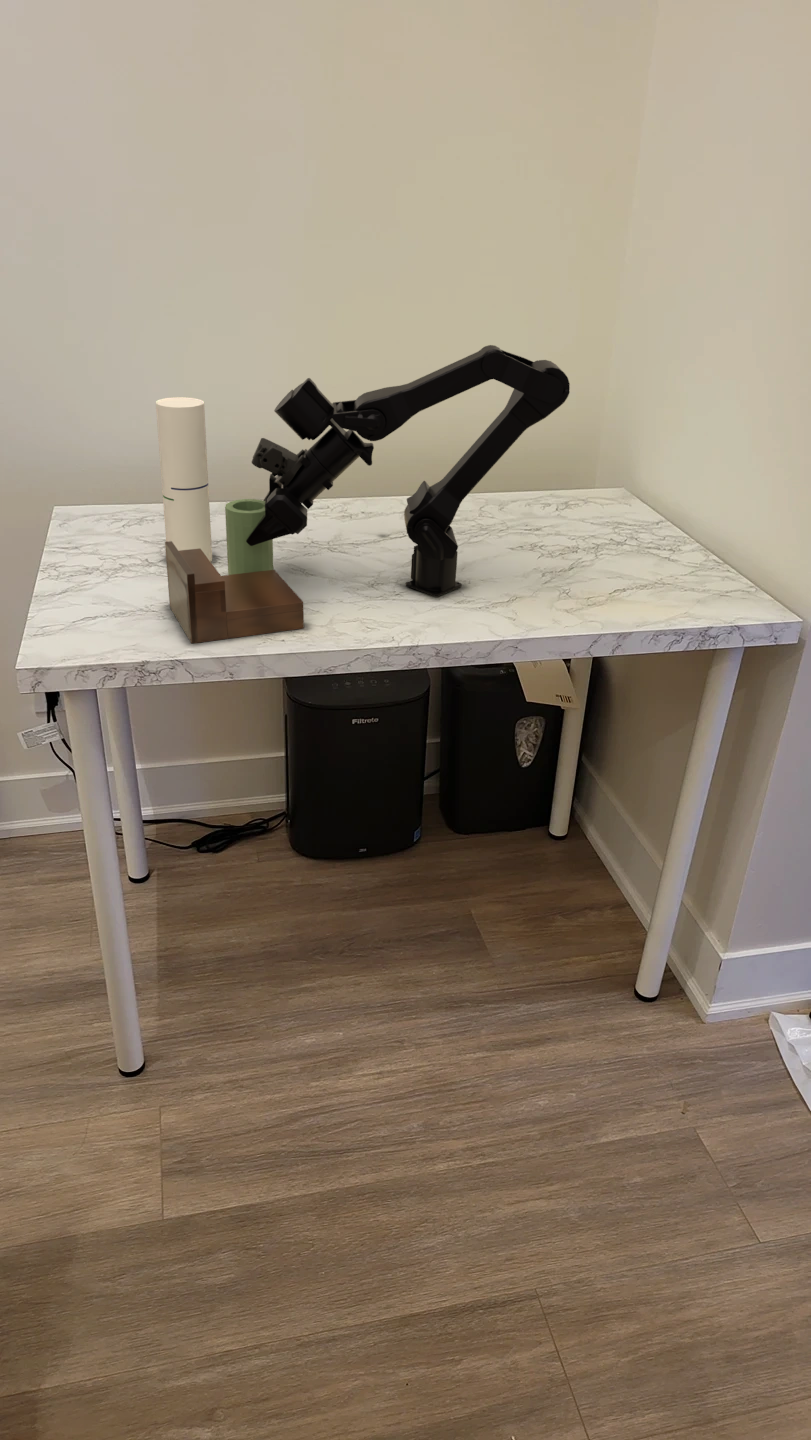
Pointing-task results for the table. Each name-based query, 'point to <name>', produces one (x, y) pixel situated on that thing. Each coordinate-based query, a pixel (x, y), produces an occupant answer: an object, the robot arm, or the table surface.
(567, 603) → the table surface
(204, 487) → the cylindrical container
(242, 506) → the jar
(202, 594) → the wooden l-shaped bookend
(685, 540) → the table surface
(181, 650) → the table surface
